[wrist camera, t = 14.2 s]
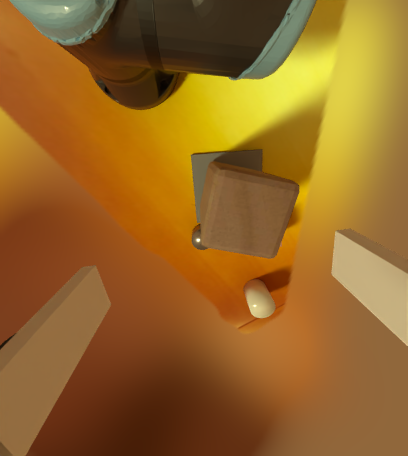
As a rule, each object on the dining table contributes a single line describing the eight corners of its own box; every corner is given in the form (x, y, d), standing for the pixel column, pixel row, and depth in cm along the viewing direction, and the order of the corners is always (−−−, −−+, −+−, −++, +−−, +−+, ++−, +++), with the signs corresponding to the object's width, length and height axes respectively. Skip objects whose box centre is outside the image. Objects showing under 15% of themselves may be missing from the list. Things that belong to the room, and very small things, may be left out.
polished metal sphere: (191, 224, 46) (190, 231, 42) (211, 223, 46) (212, 229, 42) (193, 242, 47) (192, 250, 43) (212, 241, 47) (213, 248, 43)
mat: (191, 154, 40) (191, 154, 40) (261, 149, 40) (262, 149, 40) (197, 221, 45) (197, 222, 45) (260, 216, 45) (260, 217, 45)
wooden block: (257, 170, 41) (306, 184, 22) (244, 216, 44) (277, 262, 26) (208, 159, 40) (217, 165, 21) (199, 208, 44) (199, 249, 25)
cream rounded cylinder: (243, 279, 51) (250, 298, 44) (266, 278, 51) (275, 296, 44) (243, 298, 53) (250, 318, 46) (265, 296, 53) (274, 317, 46)
